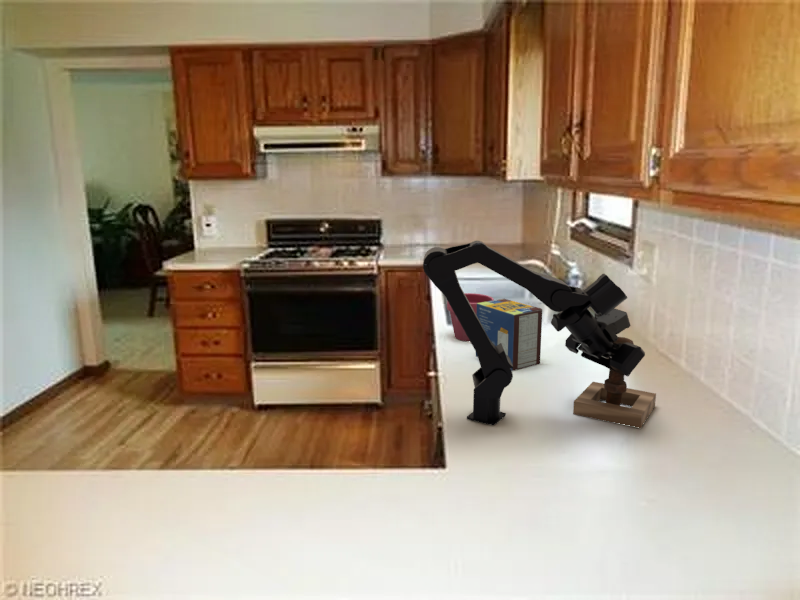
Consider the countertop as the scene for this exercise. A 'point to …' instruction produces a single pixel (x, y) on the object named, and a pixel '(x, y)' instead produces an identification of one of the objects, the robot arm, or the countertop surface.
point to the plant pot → (473, 302)
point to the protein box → (513, 329)
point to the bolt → (616, 381)
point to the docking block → (633, 416)
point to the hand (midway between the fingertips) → (621, 371)
